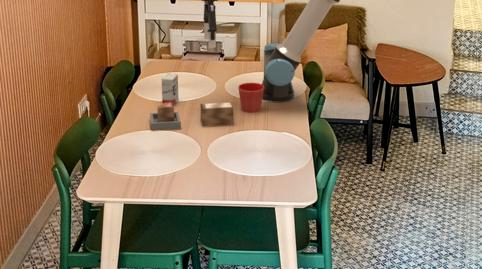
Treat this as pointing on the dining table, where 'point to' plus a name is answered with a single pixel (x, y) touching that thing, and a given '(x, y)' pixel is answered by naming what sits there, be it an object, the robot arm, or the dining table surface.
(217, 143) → the dining table surface
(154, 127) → the slate tray
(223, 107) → the brown wooden box
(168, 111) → the brown block
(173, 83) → the ink box
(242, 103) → the flower pot
